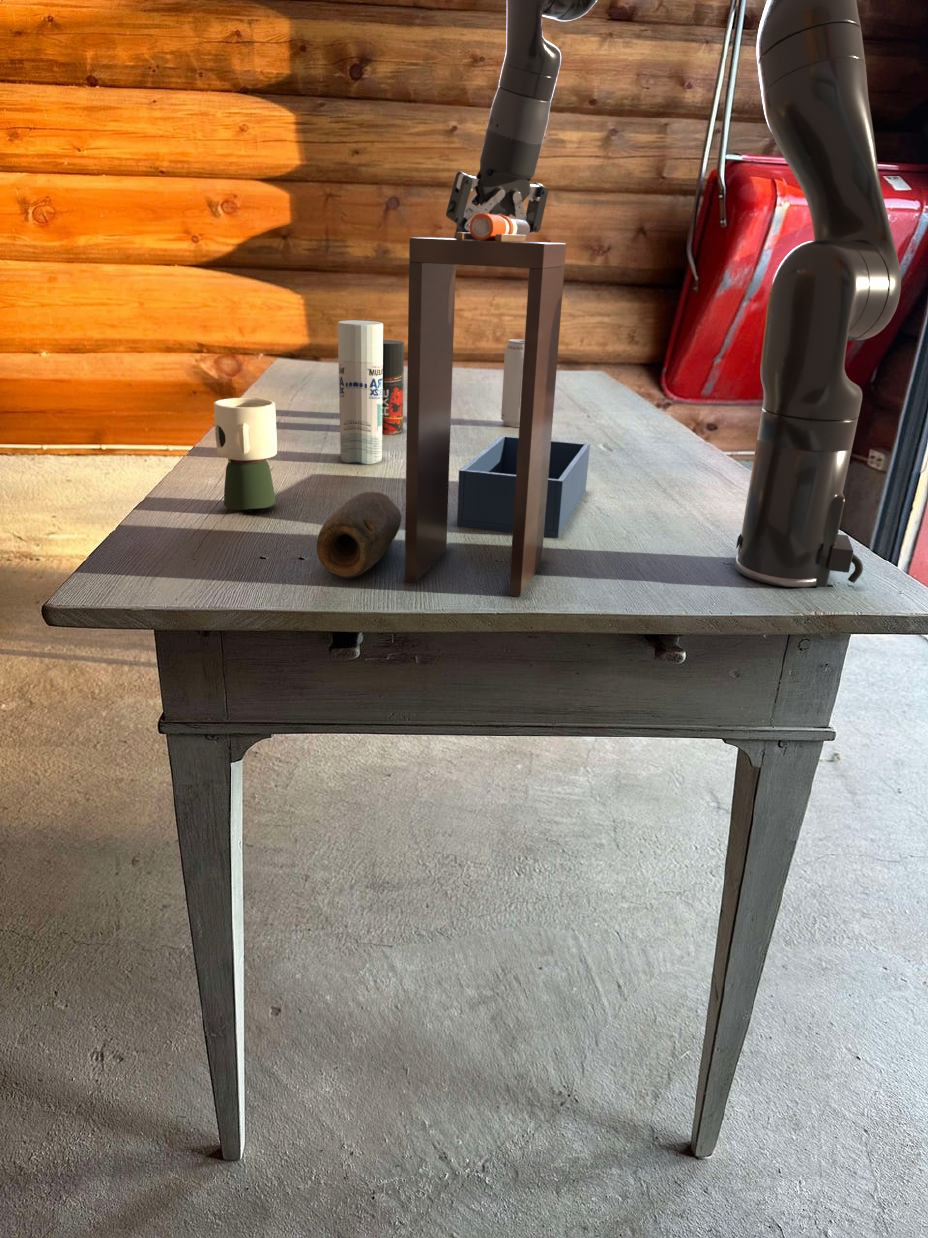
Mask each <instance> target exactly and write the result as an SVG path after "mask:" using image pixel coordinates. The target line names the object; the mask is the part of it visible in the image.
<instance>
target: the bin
mask: <svg viewBox="0 0 928 1238" xmlns="http://www.w3.org/2000/svg"><path fill="white" fill-rule="evenodd" d="M518 440H519V436H513V435H512V436H511V435H510V436H509V435H500V436H499V437H498V438H497V439H494V441H493V442H492V443H490V444H489V445H488V446H487V447H486V448H485V449H483V450H482V451H480V453H478V454H477V455H476V456H475V457H473V458H472V459H471V460H470V461H468V462H467V463H466V464H465V465H464V466H462V467H461V468H460V469H459V470H458V484H457V485H458V487H457V509H456V510H457V515H456V526H457V527H463V528H464V527H465V528H473V529H482V530H489V531H498V532H499V531H500V532H507V533H513V519H514V503H515V487H516V471H517V455H518ZM590 449H591V444H590V443H585V442H576V441H575V442H573V441H564V440H555V439H554V440H553V439H551V449H550V462H549V474H548V487H547V500H546V513H545V526H544V537H548V538H555V539H556V538H557V539H558V538H559V537H560V535H561V534H562V532H563V530H564V529H565V527H566V525H567V523H568V522H569V521H570V519H571V517H572V516H573V514H574V512H575V511H576V509H577V507H578V506H579V504H580V502H581V501H582V499H583V497H584V496H585V495H586V492H587V482H588V470H589V459H590Z"/></svg>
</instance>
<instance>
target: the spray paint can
mask: <svg viewBox="0 0 928 1238" xmlns="http://www.w3.org/2000/svg"><path fill="white" fill-rule="evenodd" d="M383 340H384V323H383V322H381V321H374V320H362V319H361V320H359V319H357V320H352V319H351V320H350V319H349V320H339V321H338V322H337V351H338V353H337V354H338V359H337V360H338V397H339V398H338V399H339V403H338V404H339V433H340V434H339V447H340V460H341V461H342V462H344V463H347V464H350V465H351V464H352V465H372V464H378V463H380V462H382V458H383V434H382V389H383Z"/></svg>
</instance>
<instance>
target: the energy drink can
mask: <svg viewBox="0 0 928 1238" xmlns="http://www.w3.org/2000/svg"><path fill="white" fill-rule="evenodd" d="M524 344H525V338H524V339H523V338H522V339H521V338H520V339H519V338H514V339H513V338H511V339H508V344H507V346H506V347H505V348H504V357H503V361H504V362H503V379H502V396H501V412H500V413H501V415H500V419H501V420H502V422H503V425H504V426H507V427H511V428H519V424H520V408H521V392H522V376H523V360H524Z"/></svg>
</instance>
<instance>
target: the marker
mask: <svg viewBox="0 0 928 1238" xmlns="http://www.w3.org/2000/svg"><path fill="white" fill-rule="evenodd" d="M469 228H470V233H471V235H472V236H473V237H474V238H475V239H477V240H480V241H495V235H496V234H515V235H526V238H527V237H528V236H529V234H530V233H529V232H530V226H529V224H528V223H527V222H526V221H525V220H518V219H510V218H509V217H508V216H504V215H502V214H497V215H494V214H489V213H488V214H486V213H479V214H477V215H475V216H474V217H473V218H472V219H471V222H470V227H469Z"/></svg>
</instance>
